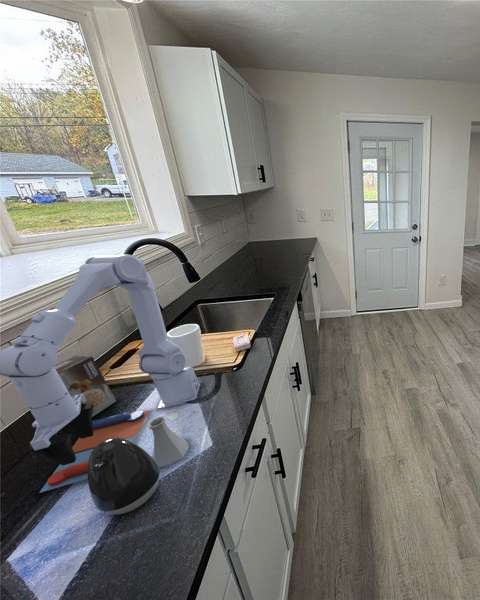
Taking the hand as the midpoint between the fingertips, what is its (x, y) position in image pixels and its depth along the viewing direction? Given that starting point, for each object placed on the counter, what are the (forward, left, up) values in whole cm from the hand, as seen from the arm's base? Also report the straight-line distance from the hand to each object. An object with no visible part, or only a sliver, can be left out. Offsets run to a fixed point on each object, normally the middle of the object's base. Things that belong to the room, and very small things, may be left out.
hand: (78, 448), depth 68 cm
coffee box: (+10, -26, -7) cm, 28 cm away
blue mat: (+1, -3, -7) cm, 7 cm away
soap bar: (-28, -47, -5) cm, 55 cm away
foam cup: (-13, -42, -7) cm, 44 cm away
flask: (-16, +2, -7) cm, 18 cm away
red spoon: (+1, 0, -6) cm, 6 cm away
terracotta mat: (+1, -13, -7) cm, 15 cm away
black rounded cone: (-12, +12, -7) cm, 19 cm away
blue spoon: (+1, -16, -6) cm, 17 cm away
